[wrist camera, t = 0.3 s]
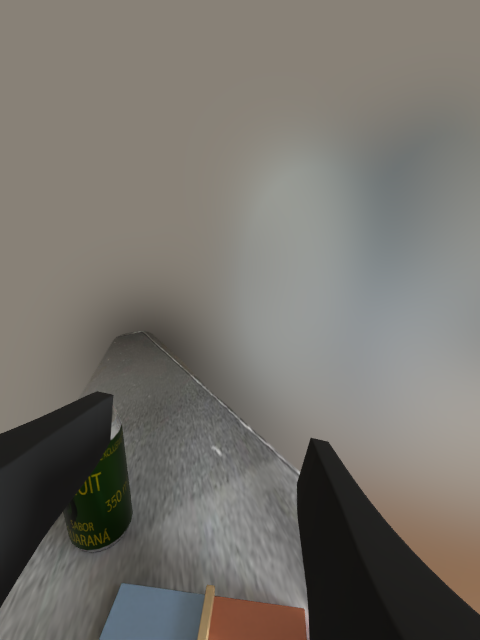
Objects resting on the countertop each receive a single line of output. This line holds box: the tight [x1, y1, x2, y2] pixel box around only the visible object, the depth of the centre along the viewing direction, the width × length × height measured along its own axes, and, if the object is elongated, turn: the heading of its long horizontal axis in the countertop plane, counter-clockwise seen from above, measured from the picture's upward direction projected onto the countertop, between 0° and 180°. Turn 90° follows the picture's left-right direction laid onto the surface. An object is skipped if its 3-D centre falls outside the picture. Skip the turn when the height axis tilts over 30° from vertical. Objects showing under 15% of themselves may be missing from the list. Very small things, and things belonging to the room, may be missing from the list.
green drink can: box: [63, 406, 133, 553], centre depth 27 cm, size 5×5×12 cm
